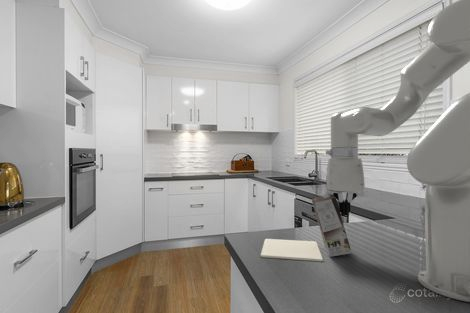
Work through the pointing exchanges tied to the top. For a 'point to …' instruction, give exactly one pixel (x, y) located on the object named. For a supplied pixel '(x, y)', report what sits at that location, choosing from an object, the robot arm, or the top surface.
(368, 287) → the top surface
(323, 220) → the coffee box
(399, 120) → the robot arm
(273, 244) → the mat
